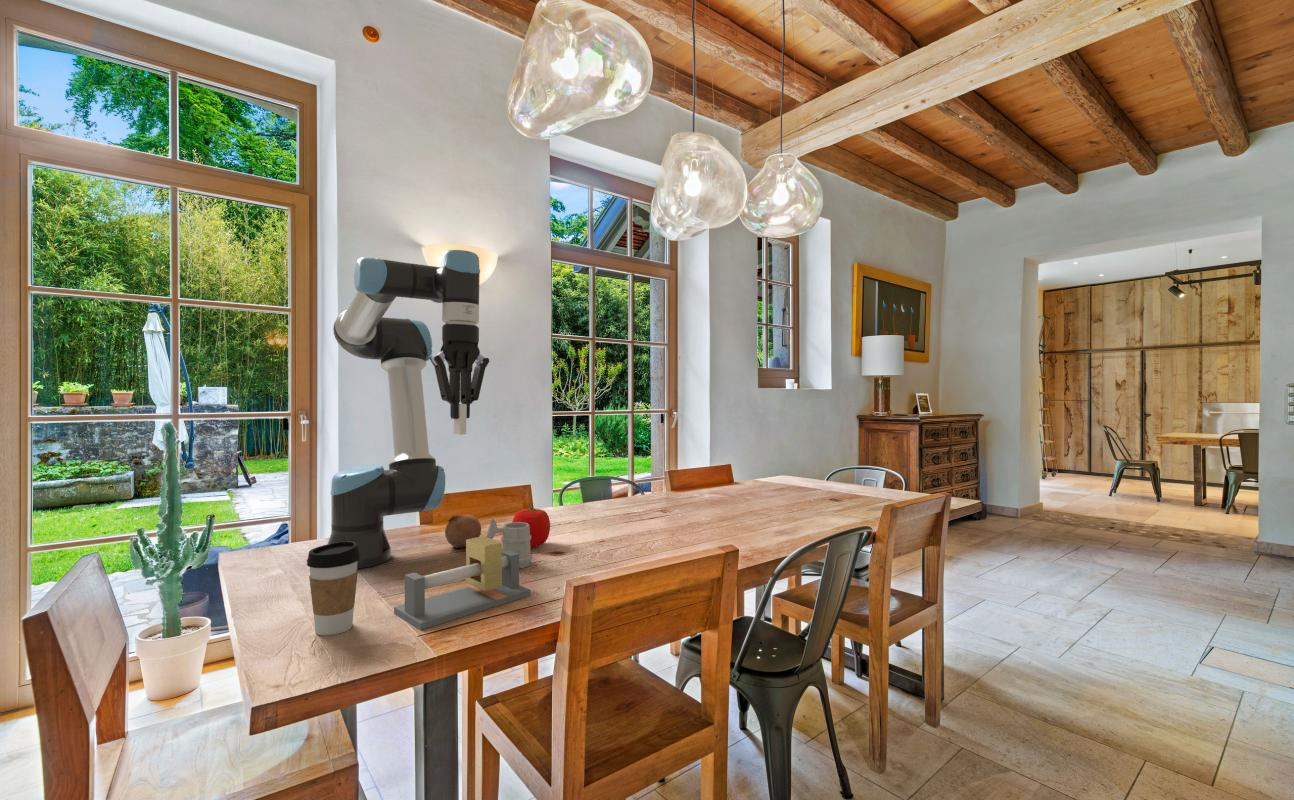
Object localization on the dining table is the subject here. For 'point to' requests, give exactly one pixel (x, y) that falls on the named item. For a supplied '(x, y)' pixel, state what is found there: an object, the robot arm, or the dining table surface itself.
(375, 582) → the dining table surface
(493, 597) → the rail
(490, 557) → the collar
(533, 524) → the red round fruit
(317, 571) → the coffee cup
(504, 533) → the mug
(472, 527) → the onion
